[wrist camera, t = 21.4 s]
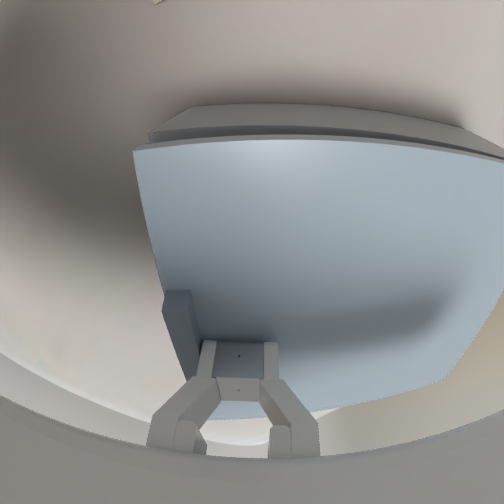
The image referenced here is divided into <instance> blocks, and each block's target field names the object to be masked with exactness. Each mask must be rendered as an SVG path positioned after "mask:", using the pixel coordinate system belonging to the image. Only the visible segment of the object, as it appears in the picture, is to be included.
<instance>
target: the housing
mask: <svg viewBox="0 0 504 504" xmlns="http://www.w3.org/2000/svg"><path fill="white" fill-rule="evenodd" d="M241 135H331V136H350V137H364V138H376V139H386V140H395V141H404V142H412V143H419V144H426V145H433V146H439V147H445V148H451V149H456V150H461V151H466V152H471V153H476V154H481V155H485V156H489V157H494V158H498V159H502V160H504V149H503V148H501V147H499V146H497V145H495V144H494V143H492V142H490V141H488V140H486V139H484V138H482V137H480V136H478V135H476V134H474V133H472V132H470V131H468V130H465V129H463V128H460V127H456V126H452V125H448V124H444V123H439V122H435V121H431V120H426V119H421V118H416V117H411V116H406V115H400V114H394V113H388V112H381V111H374V110H366V109H358V108H349V107H339V106H327V105H311V104H287V103H244V104H219V105H204V106H192V107H190V108H188V109H187V110H185V111H183V112H181V113H180V114H178V115H176V116H174V117H173V118H171V119H169V120H168V121H166V122H164V123H163V124H161V125H159V126H158V127H156V128H155V129H153V130H151V131H150V132H149V140H150V144H151V143H158V142H167V141H175V140H185V139H196V138H208V137H222V136H241Z"/></svg>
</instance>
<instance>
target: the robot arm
mask: <svg viewBox="0 0 504 504" xmlns="http://www.w3.org/2000/svg"><path fill="white" fill-rule="evenodd" d="M221 401H248V402H259V404H260V405H261V407H262V408H263V410H264V412H265V413H266V415H267V416H268V418H269V420H270V421H271V423H272V424H273V427H272V428H271V429H270V435H269V445H268V458H236V457H221V456H209V455H206V450H207V444H206V442H205V441H204V439H203V437H202V435H201V433H200V431H199V429H200V428H201V427H202V426H203V424H204V423H205V422H206V421H207V419H208V418H209V417H210V416H211V414H212V413H213V412H214V411H215V409H216V408H217V407H218V406H219V404H220V403H221ZM0 504H504V410H502V411H499V412H497V413H495V414H492V415H490V416H488V417H485V418H483V419H480V420H478V421H475V422H472V423H470V424H467V425H464V426H461V427H459V428H456V429H453V430H450V431H446V432H443V433H440V434H437V435H434V436H430V437H426V438H423V439H419V440H415V441H411V442H407V443H403V444H398V445H393V446H389V447H384V448H378V449H373V450H367V451H361V452H354V453H346V454H339V455H328V456H320V444H319V431H318V423H317V421H316V420H315V419H314V418H313V417H312V415H311V414H310V413H309V412H308V410H307V409H306V408H305V407H304V405H303V404H302V403H301V402H300V400H299V399H298V398H297V397H296V395H295V394H294V393H293V391H292V390H291V389H290V388H289V386H288V385H287V384H286V382H285V381H284V380H283V379H279V353H278V342H230V341H214V340H204V341H203V344H202V349H201V354H200V359H199V365H198V370H197V376H192V377H191V378H190V379H189V380H188V381H187V382H186V383H185V384H184V385H183V386H182V387H181V388H180V389H179V390H178V391H177V392H176V393H175V394H174V395H173V396H172V397H171V398H170V399H169V400H168V401H167V402H166V403H165V404H164V405H163V406H162V407H161V408H160V409H158V410H157V411H156V412H155V413H154V414H153V417H152V421H151V425H150V429H149V434H148V438H147V443H146V446H143V445H139V444H134V443H130V442H126V441H121V440H118V439H114V438H110V437H106V436H103V435H99V434H96V433H93V432H89V431H86V430H83V429H80V428H77V427H74V426H71V425H68V424H65V423H63V422H60V421H57V420H55V419H52V418H50V417H47V416H45V415H42V414H40V413H37V412H35V411H33V410H30V409H28V408H26V407H24V406H22V405H19V404H17V403H15V402H13V401H11V400H9V399H7V398H5V397H3V396H1V395H0Z"/></svg>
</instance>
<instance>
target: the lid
mask: <svg viewBox="0 0 504 504" xmlns="http://www.w3.org/2000/svg"><path fill="white" fill-rule="evenodd" d="M132 153H133V159H134V165H135V171H136V176H137V182H138V187H139V192H140V197H141V202H142V207H143V212H144V216H145V221H146V226H147V230H148V234H149V239H150V243H151V247H152V251H153V255H154V259H155V263H156V267H157V271H158V274H159V278H160V282H161V285H162V289H163V292H164V296H165V297H164V302H163V307H162V314H163V317H164V320H165V323H166V326H167V329H168V332H169V335H170V337H171V340H172V343H173V346H174V349H175V351H176V354H177V357H178V360H179V362H180V365H181V368H182V370H183V373H184V375H185V378H186V380H187V381H188V380H189V379H190V378H191V377H192V376H197V370H198V365H199V359H200V354H201V349H202V344H203V341H204V340H214V341H230V342H278V353H279V379H283V380H284V381H285V382H286V384H287V385H288V386H289V388H290V389H291V390H292V391H293V393H294V394H295V395H296V397H297V398H298V399H299V400H300V402H301V403H302V404H303V405H304V407H305V408H306V409H307V410H308V412H315V411H321V410H327V409H333V408H339V407H344V406H349V405H354V404H359V403H363V402H368V401H372V400H376V399H380V398H384V397H388V396H392V395H396V394H399V393H403V392H406V391H410V390H413V389H416V388H420V387H423V386H426V385H429V384H432V383H435V382H438V381H441V380H443V379H444V378H445V377H446V375H447V374H448V373H449V371H450V370H451V369H452V368H453V367H454V365H455V364H456V363H457V361H458V360H459V359H460V357H461V356H462V355H463V353H464V352H465V350H466V349H467V348H468V346H469V345H470V344H471V342H472V341H473V339H474V338H475V336H476V335H477V333H478V332H479V330H480V329H481V327H482V326H483V324H484V322H485V320H486V319H487V318H488V316H489V314H490V313H491V311H492V309H493V308H494V306H495V304H496V302H497V301H498V299H499V297H500V295H501V294H502V292H503V290H504V160H502V159H498V158H494V157H489V156H485V155H481V154H476V153H471V152H466V151H461V150H456V149H451V148H445V147H439V146H433V145H426V144H419V143H412V142H404V141H395V140H386V139H376V138H364V137H350V136H331V135H241V136H222V137H208V138H196V139H185V140H175V141H167V142H158V143H151V144H143V145H139V146H138V147H136V148H135V149H134V150H133V151H132ZM262 417H268V416H267V415H266V413H265V412H264V410H263V408H262V407H261V405H260V404H259V402H248V401H221V403H220V404H219V406H218V407H217V408H216V409H215V411H214V412H213V413H212V414H211V416H210V417H209V418H208V419H207V420H226V419H248V418H262Z"/></svg>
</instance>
